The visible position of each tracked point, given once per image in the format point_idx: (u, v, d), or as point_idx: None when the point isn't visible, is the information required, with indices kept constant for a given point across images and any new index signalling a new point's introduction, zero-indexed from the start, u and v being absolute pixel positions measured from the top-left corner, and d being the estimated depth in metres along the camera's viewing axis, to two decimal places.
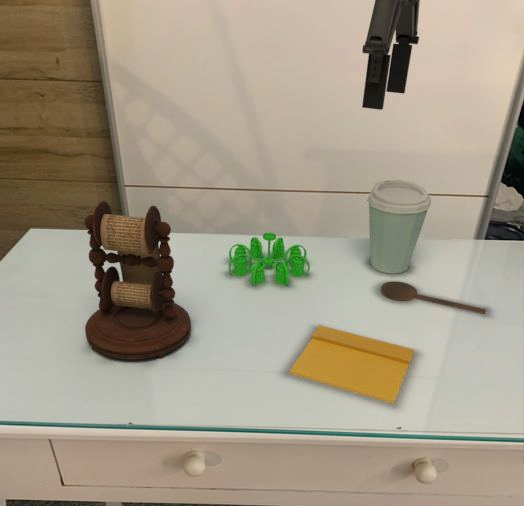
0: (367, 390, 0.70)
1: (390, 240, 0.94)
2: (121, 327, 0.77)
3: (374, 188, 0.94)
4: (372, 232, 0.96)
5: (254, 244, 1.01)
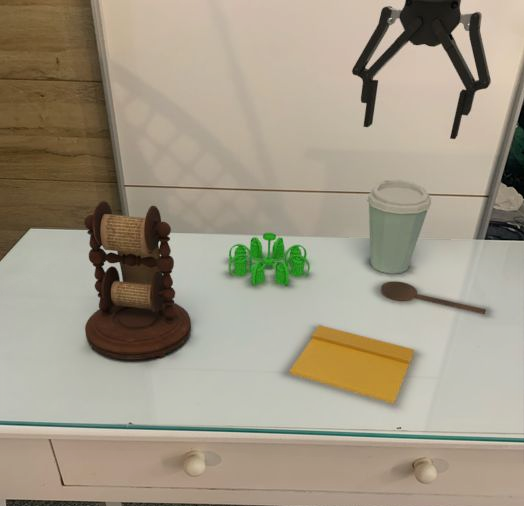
0: (367, 390, 0.70)
1: (390, 240, 0.94)
2: (121, 327, 0.77)
3: (374, 188, 0.94)
4: (372, 232, 0.96)
5: (254, 244, 1.01)
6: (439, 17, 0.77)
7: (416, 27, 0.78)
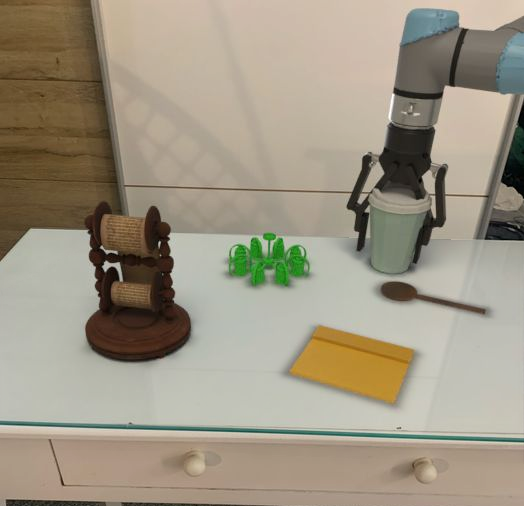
0: (367, 390, 0.70)
1: (390, 240, 0.94)
2: (121, 327, 0.77)
3: (375, 188, 0.94)
4: (373, 232, 0.96)
5: (254, 244, 1.01)
6: (412, 164, 0.89)
7: (393, 170, 0.90)
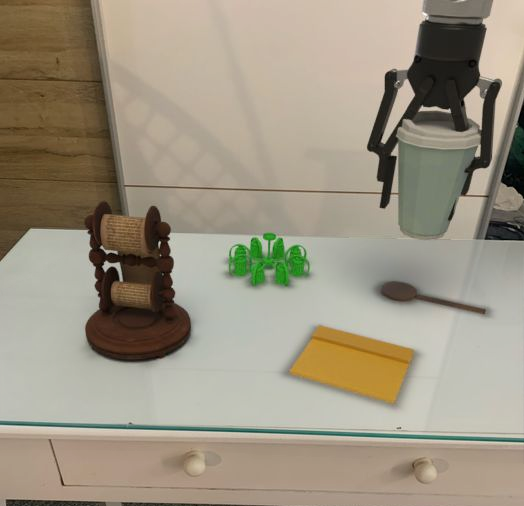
0: (367, 390, 0.70)
1: (427, 189, 0.70)
2: (121, 327, 0.77)
3: (406, 119, 0.70)
4: (402, 179, 0.72)
5: (254, 244, 1.01)
6: (454, 77, 0.65)
7: (427, 88, 0.66)
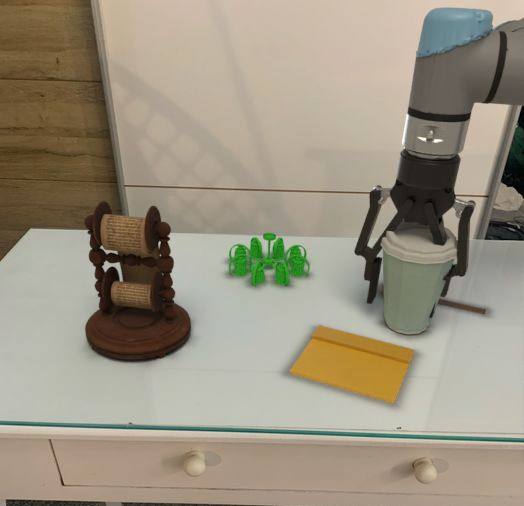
0: (367, 390, 0.70)
1: (409, 294, 0.77)
2: (121, 327, 0.77)
3: None
4: (387, 282, 0.79)
5: (254, 244, 1.01)
6: (432, 200, 0.72)
7: (407, 208, 0.73)
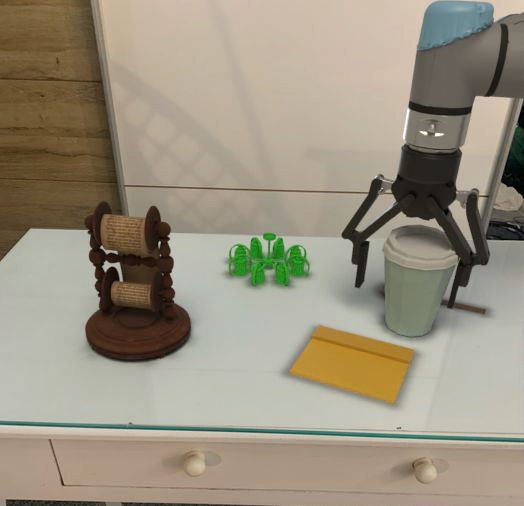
0: (367, 390, 0.70)
1: (410, 300, 0.77)
2: (121, 327, 0.77)
3: (391, 236, 0.77)
4: (388, 288, 0.79)
5: (254, 244, 1.01)
6: (434, 195, 0.72)
7: (409, 202, 0.73)
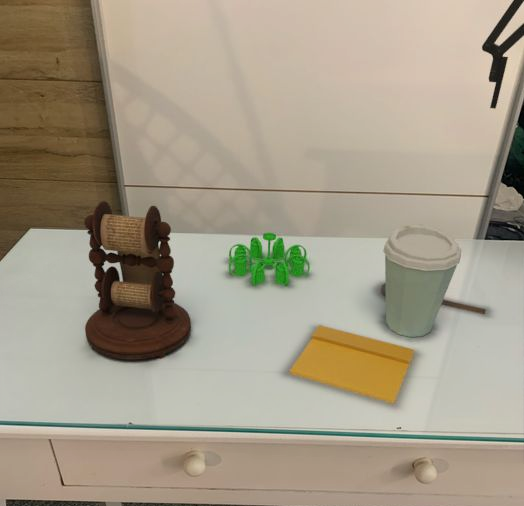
0: (367, 390, 0.70)
1: (411, 300, 0.77)
2: (121, 327, 0.77)
3: (392, 237, 0.77)
4: (389, 288, 0.79)
5: (254, 244, 1.01)
6: None
7: None
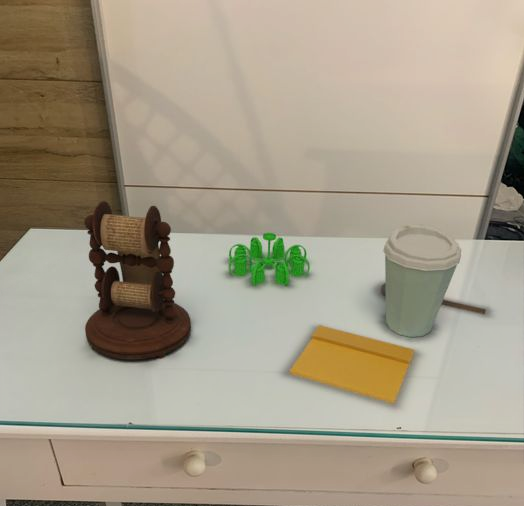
0: (367, 390, 0.70)
1: (411, 300, 0.77)
2: (121, 327, 0.77)
3: (392, 237, 0.77)
4: (389, 288, 0.79)
5: (254, 244, 1.01)
6: None
7: None
